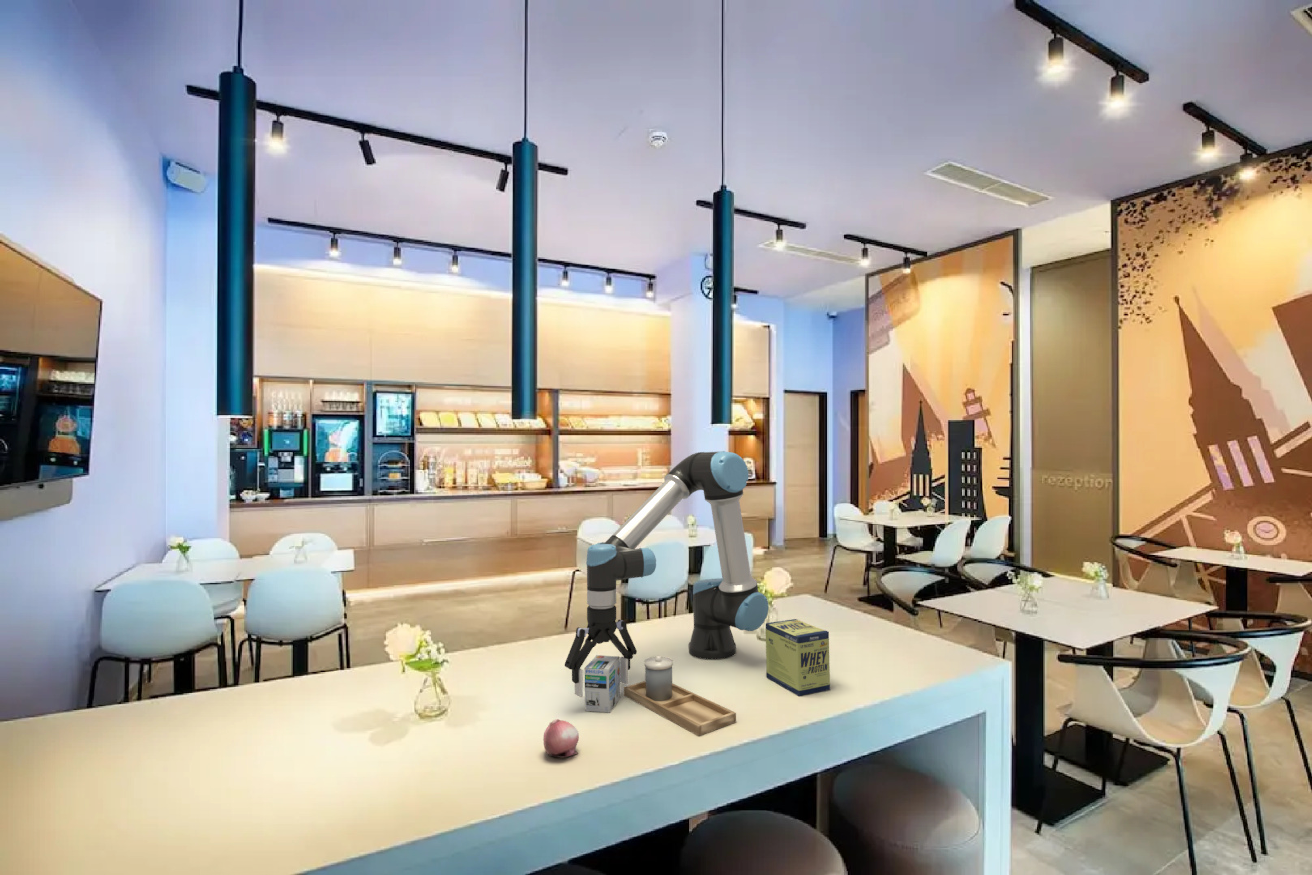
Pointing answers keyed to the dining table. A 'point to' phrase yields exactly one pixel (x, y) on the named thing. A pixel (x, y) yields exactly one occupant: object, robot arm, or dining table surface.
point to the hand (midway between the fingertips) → (601, 689)
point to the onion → (560, 739)
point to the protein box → (797, 656)
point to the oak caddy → (684, 709)
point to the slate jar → (658, 678)
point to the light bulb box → (602, 683)
